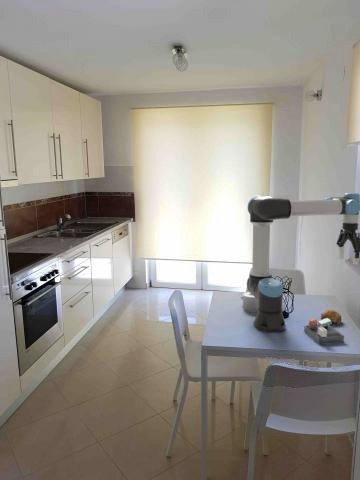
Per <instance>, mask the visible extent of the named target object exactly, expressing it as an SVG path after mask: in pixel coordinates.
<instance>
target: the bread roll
mask: <svg viewBox="0 0 360 480" xmlns="http://www.w3.org/2000/svg"><path fill="white" fill-rule="evenodd" d="M326 318H328V319H329V320H331V322H332V324H330V326H337V325H340V324H341V323H342V316H341V313H340V312H339V311H336V310H334V309H326V310H324V311H323V312H321V314H320V320H323V319H326Z"/></svg>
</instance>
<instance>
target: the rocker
mask: <svg viewBox="0 0 360 480" xmlns="http://www.w3.org/2000/svg"><path fill="white" fill-rule="evenodd" d="M330 324H332V322H331V320H329V319H328V318H326V319H323V320H321V319H320V320H317V325H320V326H321V327H324V326H327V325H330ZM330 326H331V325H330Z"/></svg>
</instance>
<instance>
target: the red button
mask: <svg viewBox="0 0 360 480" xmlns="http://www.w3.org/2000/svg"><path fill="white" fill-rule="evenodd" d="M308 325H310V326H317V325H318V319H316V318H309V319H308Z"/></svg>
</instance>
